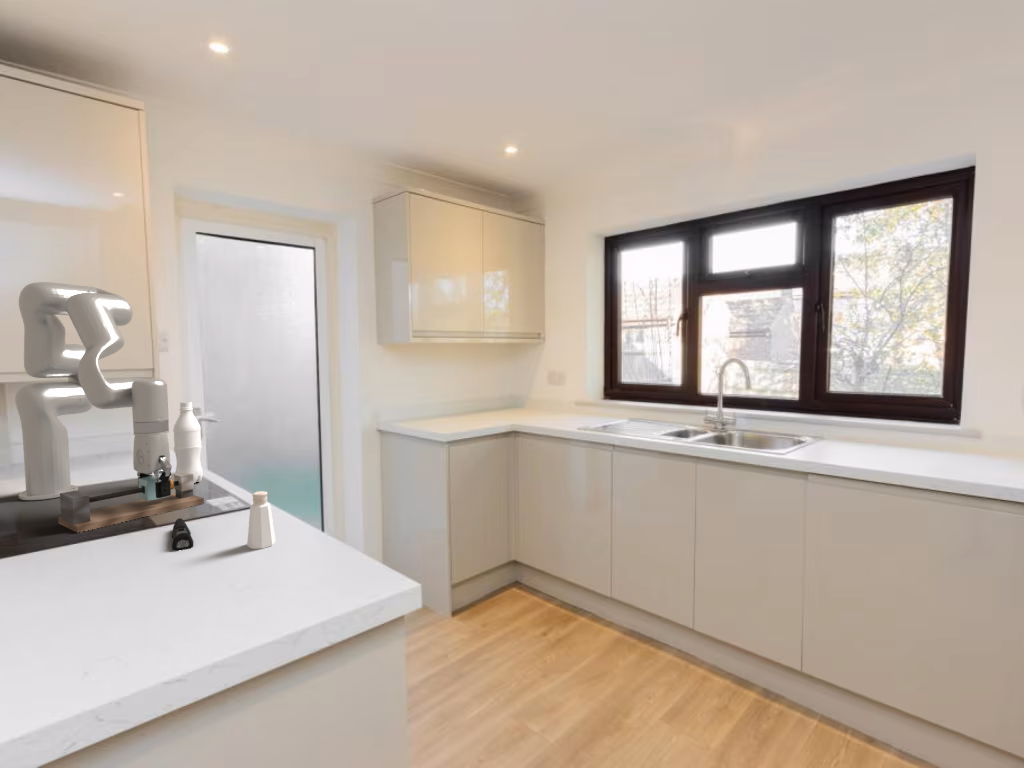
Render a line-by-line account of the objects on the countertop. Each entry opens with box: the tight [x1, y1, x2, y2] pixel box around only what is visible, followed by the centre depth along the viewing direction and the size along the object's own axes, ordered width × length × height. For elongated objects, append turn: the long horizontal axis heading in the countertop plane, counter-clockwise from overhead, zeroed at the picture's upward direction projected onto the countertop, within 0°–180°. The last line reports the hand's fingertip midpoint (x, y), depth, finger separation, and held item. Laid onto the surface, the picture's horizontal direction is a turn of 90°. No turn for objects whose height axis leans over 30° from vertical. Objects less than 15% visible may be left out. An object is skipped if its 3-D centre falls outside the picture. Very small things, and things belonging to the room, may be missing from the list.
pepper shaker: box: [246, 490, 277, 550], centre depth 110 cm, size 5×5×11 cm
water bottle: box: [172, 401, 204, 484], centre depth 161 cm, size 7×7×25 cm
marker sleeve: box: [137, 474, 169, 501], centre depth 135 cm, size 5×5×5 cm
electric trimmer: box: [171, 517, 194, 552], centre depth 114 cm, size 4×16×3 cm, turn 34°
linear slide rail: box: [57, 472, 205, 534], centre depth 132 cm, size 27×12×8 cm, turn 146°
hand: (154, 494), depth 135 cm, fingers open, 9 cm apart
